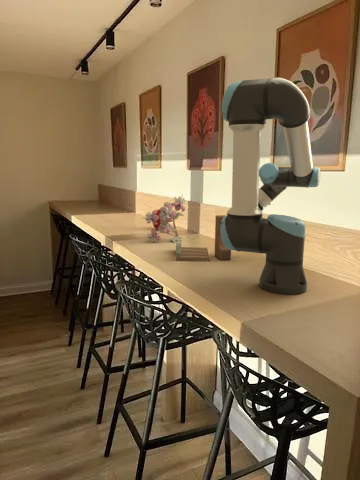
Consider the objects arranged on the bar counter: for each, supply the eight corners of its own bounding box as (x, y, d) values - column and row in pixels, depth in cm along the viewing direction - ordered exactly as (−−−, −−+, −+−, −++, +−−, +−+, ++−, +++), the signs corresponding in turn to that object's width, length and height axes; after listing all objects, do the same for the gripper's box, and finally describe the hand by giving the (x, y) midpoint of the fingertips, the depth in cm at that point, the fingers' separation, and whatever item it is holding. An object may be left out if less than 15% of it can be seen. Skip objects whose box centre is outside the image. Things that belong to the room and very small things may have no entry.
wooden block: (231, 260, 160) (232, 217, 157) (221, 260, 159) (222, 218, 156) (223, 255, 169) (225, 215, 166) (214, 255, 168) (215, 215, 165)
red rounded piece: (151, 228, 239) (150, 206, 236) (166, 228, 240) (166, 206, 238) (152, 231, 229) (152, 208, 226) (169, 231, 230) (169, 208, 228)
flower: (157, 232, 216) (145, 194, 202) (194, 231, 208) (185, 191, 195) (145, 254, 201) (131, 214, 187) (185, 253, 193) (174, 212, 179)
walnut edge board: (209, 261, 158) (209, 245, 157) (175, 260, 159) (175, 245, 157) (206, 250, 178) (207, 237, 177) (177, 250, 178) (177, 236, 177)
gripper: (270, 211, 148) (230, 249, 151) (258, 205, 173) (224, 237, 176) (257, 198, 147) (217, 235, 150) (247, 193, 172) (213, 226, 175)
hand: (221, 236), depth 163 cm, fingers open, 13 cm apart
